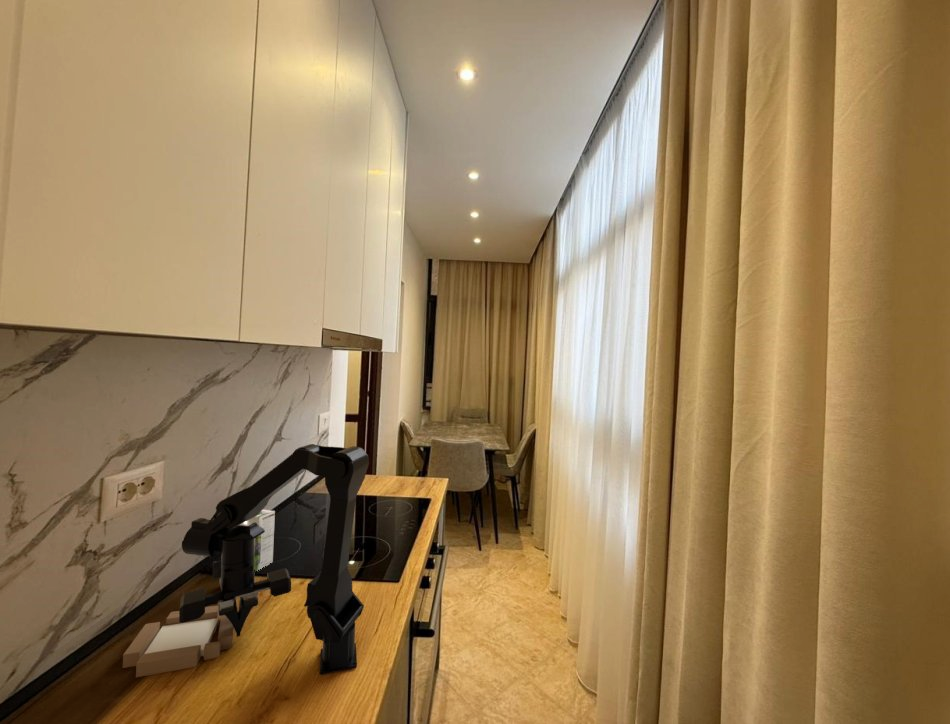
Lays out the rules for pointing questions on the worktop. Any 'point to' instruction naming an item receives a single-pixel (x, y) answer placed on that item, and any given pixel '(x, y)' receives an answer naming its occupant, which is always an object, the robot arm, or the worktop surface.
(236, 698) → the worktop surface
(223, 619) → the leg
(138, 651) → the seat
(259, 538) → the syrup box
